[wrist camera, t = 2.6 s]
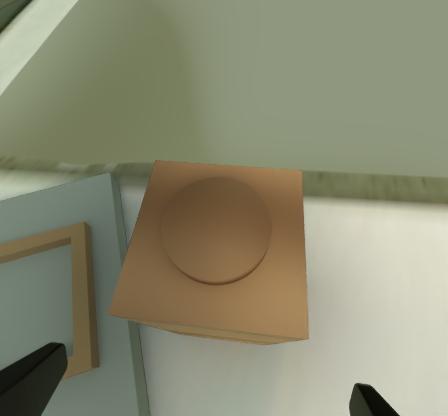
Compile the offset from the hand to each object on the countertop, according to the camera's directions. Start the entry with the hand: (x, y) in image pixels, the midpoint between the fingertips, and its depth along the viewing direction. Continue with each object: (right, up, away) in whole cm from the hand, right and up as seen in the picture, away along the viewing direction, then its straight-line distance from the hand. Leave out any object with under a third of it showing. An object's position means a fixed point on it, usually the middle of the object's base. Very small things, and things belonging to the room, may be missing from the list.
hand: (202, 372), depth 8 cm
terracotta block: (+1, -2, +12) cm, 12 cm away
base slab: (-13, -3, +11) cm, 18 cm away
